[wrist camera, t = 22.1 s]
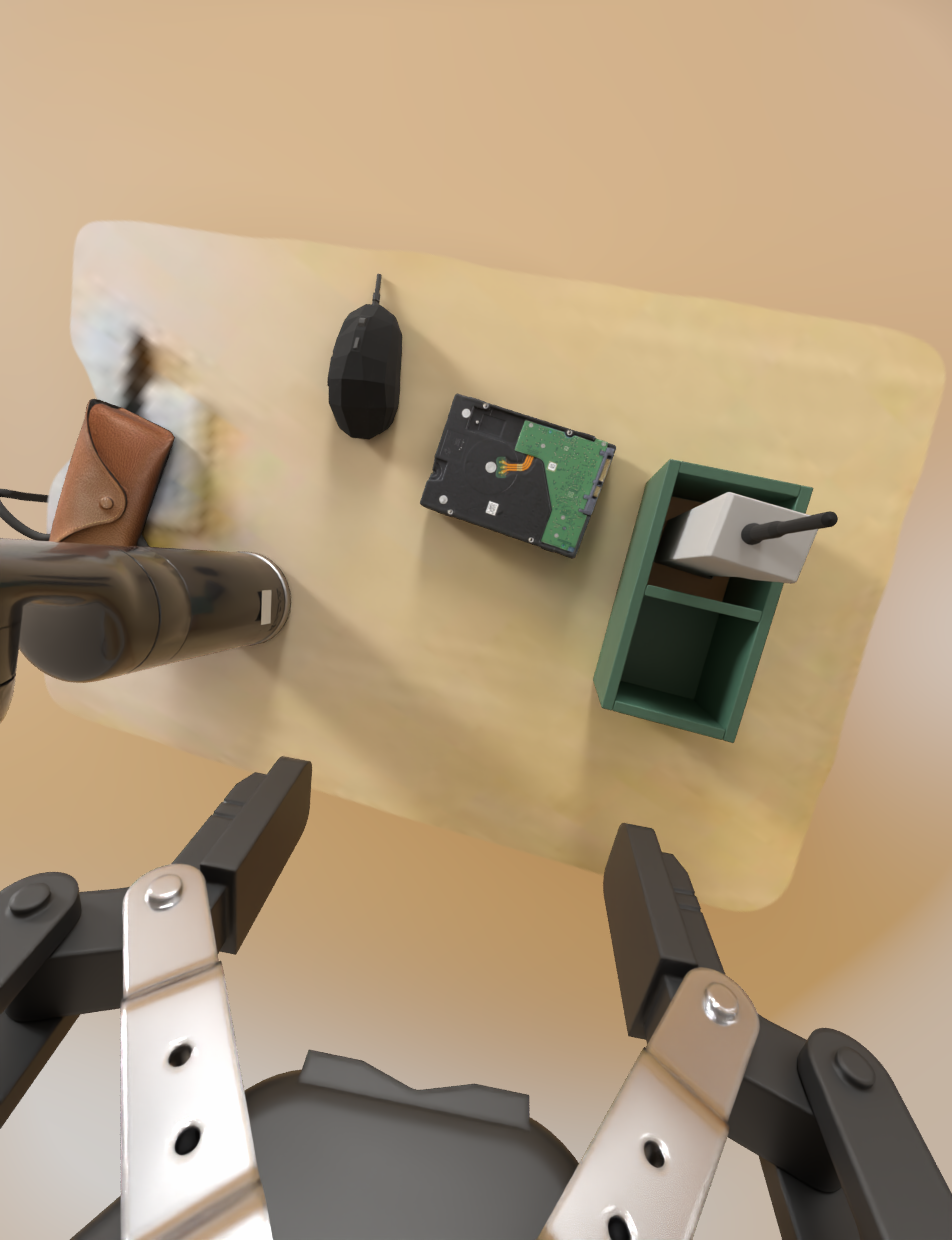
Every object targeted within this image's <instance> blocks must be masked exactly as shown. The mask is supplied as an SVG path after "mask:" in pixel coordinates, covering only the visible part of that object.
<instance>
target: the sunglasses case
mask: <svg viewBox="0 0 952 1240" xmlns="http://www.w3.org/2000/svg"><path fill="white" fill-rule="evenodd" d="M174 438H175V437H174V436H173V434H172V433H171V432H170V431H169V430H167V429H165V428H163V427H161V426H159V425H157V424H155V423H152V422H150V421H148V420H146V419H144V418H142V417H141V416H139V415H137V414H135V413H132V412H130V411H128V410H126V409H124V408H121V407H118V406H115V405H112V404H109V403H107V402H103V401H101V400H97V399H91V400H90V401H89V402H88V404H87V407H86V412H85V419H84V422H83V425H82V428H81V431H80V434H79V437H78V439H77V443H76V446H75V449H74V452H73V455H72V458H71V461H70V465H69V468H68V471H67V474H66V478H65V481H64V485H63V488H62V492H61V495H60V499H59V502H58V506H57V510H56V514H55V518H54V521H53V525H52V530H51V534H50V539H49V541H51V542H65V543H81V544H101V545H118V546H137V541H138V539H139V537H140V536H141V535H142V532H143V529H144V526H145V522H146V519H147V516H148V513H149V510H150V507H151V504H152V502H153V499H154V496H155V493H156V490H157V488H158V485H159V482H160V479H161V476H162V473H163V470H164V467H165V465H166V462H167V460H168V457H169V454H170V451H171V448H172V445H173V441H174Z"/></svg>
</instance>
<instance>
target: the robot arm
mask: <svg viewBox="0 0 952 1240" xmlns="http://www.w3.org/2000/svg"><path fill="white" fill-rule="evenodd" d="M0 497H5V498H11V499H18V500H24V501H34V502H45V503H48V497H49V495H42V494H33V493H25V492H19V491H13V490H8V489H0ZM0 517H1V518H2V519H3V520H4V521H5V522H6V523H7V524H9V525H10V526H11V527H12V528H14V529H15V530H16V531H18V532H20V533H21V534H23V535H25V536H27V537H29V538H31V539H33V540H21V539H7V538H0V723H1V722H2V721H3V719H4V718H5V716H6V714H7V711H8V709H9V706H10V703H11V700H12V696H13V692H14V686H15V676H16V668H17V658H18V650H20V651H21V652H22V654H23V655H24V656H25V657H26V658H27V659H28V660H29V661H30V662H31V663H32V664H33V665H34V666H35V667H37V668H38V669H39V670H40V671H42V672H44V673H45V674H47V675H49V676H51V677H54V678H56V679H59V680H62V681H67V682H76V683H87V682H94V681H100V680H104V679H108V678H112V677H116V676H121V675H125V674H129V673H133V672H137V671H142V670H146V669H150V668H153V667H158V666H162V665H166V664H170V663H174V662H179V661H183V660H187V659H191V658H195V657H200V656H204V655H208V654H212V653H216V652H221V651H225V650H229V649H234V648H238V647H242V646H248V645H255V644H259V643H262V642H265V641H267V640H269V639H271V638H272V637H274V636H275V635H276V634H277V633H278V632H279V631H280V630H281V629H282V627H283V626H284V624H285V623H286V620H287V618H288V615H289V611H290V605H291V596H290V590H289V586H288V583H287V581H286V578H285V576H284V575H283V573H282V572H281V570H280V569H279V568H278V567H277V565H276V564H275V563H273V562H272V561H271V560H269V559H268V558H266V557H264V556H262V555H260V554H257V553H252V552H224V551H207V550H190V549H173V548H156V547H149V546H148V544H147V542H146V541H145V539H144V537H143V536H142V535H141V536H140V537H139V539H138V541H137V546H118V545H101V544H81V543H65V542H51V541H49V539H50V534H43V533H39V532H37V531H34V530H32V529H30V528H28V527H27V526H25V525H24V524H22V523H21V522H20V521H19V520H17V519H16V518H15V517H14V516H13V515H12V514H11V513H10V512H9V511H8V510H7V509H6V508H5V506H4V505H3V504H2V502H1V501H0ZM311 777H312V764H311V762H310V761H305V760H300V759H294V758H289V757H284V756H282V757H280V758H279V759H278V760H277V762H276V763H275V764H274V766H273V767H272V768H271V770H270V771H269V772H268V774H267V775H266V774H261V773H256V772H255V773H253V774H252V775H250V776H249V777H247V778H245V779H244V780H242V781H241V782H239V783H237V784H236V785H235V787H234V788H233V789H232V790H231V791H230V793H229V794H228V795H227V796H226V798H225V799H224V802H222V803H221V804H220V805H219V806H218V807H217V809H216V810H215V811H214V814H213V815H211V816H210V817H209V818H208V820H207V821H206V822H205V823H204V825H203V826H202V827H201V828H200V830H199V831H198V832H197V833H196V835H195V836H194V837H193V838H192V839H191V841H190V842H189V843H188V844H187V845H186V847H185V848H184V849H183V850H182V852H181V853H180V854H179V855H178V857H177V858H176V859H175V860H174V861H173V863H172V864H170V865H165V866H162V867H159V868H156V869H154V870H151V871H149V872H148V873H146V874H144V875H143V876H141V877H140V878H139V879H138V880H136V881H135V882H134V883H133V884H132V885H131V887H127V888H120V889H110V890H100V891H99V890H98V891H87V892H79V887H78V883H77V881H76V880H75V879H74V878H73V877H72V876H70V875H68V874H65V873H61V872H46V873H40V874H36V875H32V876H29V877H26V878H24V879H21V880H19V881H17V882H15V883H13V884H11V885H9V886H8V887H6V888H4V889H3V890H2V891H0V1129H1V1127H2V1126H3V1124H4V1123H5V1122H6V1120H7V1119H8V1117H9V1116H10V1114H11V1113H12V1111H13V1110H14V1109H15V1107H16V1106H17V1104H18V1103H19V1102H20V1100H21V1099H22V1097H23V1096H24V1094H25V1093H26V1091H27V1090H28V1089H29V1087H30V1086H31V1084H32V1083H33V1081H34V1080H35V1079H36V1077H37V1076H38V1074H39V1073H40V1071H41V1070H42V1069H43V1067H44V1066H45V1064H46V1063H47V1061H48V1060H49V1058H50V1057H51V1055H52V1054H53V1053H54V1051H55V1050H56V1048H57V1047H58V1045H59V1044H60V1043H61V1041H62V1040H63V1038H64V1037H65V1036H66V1034H67V1033H68V1031H69V1030H70V1028H71V1027H72V1025H73V1024H74V1023H75V1021H76V1020H77V1018H78V1017H79V1015H80V1014H85V1013H92V1012H98V1011H104V1010H112V1009H119V1008H120V1034H121V1035H120V1037H121V1038H120V1041H121V1042H120V1044H121V1046H120V1049H121V1051H120V1059H121V1061H120V1070H121V1071H120V1072H121V1074H120V1077H121V1079H120V1081H121V1082H120V1086H121V1087H120V1088H121V1196H120V1197H118V1198H117V1199H116V1200H115V1201H114V1202H113V1203H112V1204H110V1205H109V1206H108V1207H107V1208H106V1209H105V1210H103V1211H102V1212H101V1213H100V1214H99V1215H98V1216H97V1217H95V1218H94V1219H93V1220H92V1221H91V1222H90V1223H88V1224H87V1225H86V1226H85V1227H84V1228H83V1229H81V1230H80V1231H79V1232H78V1233H77V1234H76V1235H75V1236H73V1237H72V1238H71V1239H70V1240H692V1239H693V1236H694V1233H695V1230H696V1227H697V1224H698V1221H699V1218H700V1215H701V1213H702V1209H703V1207H704V1204H705V1201H706V1198H707V1195H708V1192H709V1189H710V1186H711V1183H712V1180H713V1178H714V1174H715V1172H716V1169H717V1165H718V1163H719V1160H720V1157H721V1154H722V1151H723V1148H724V1145H725V1142H726V1139H727V1137H728V1138H730V1139H732V1140H733V1141H735V1142H737V1143H738V1144H740V1145H742V1146H744V1147H745V1148H747V1149H749V1150H750V1151H752V1152H754V1153H755V1154H757V1155H759V1159H760V1162H761V1166H762V1169H763V1173H764V1177H765V1180H766V1183H767V1187H768V1191H769V1194H770V1197H771V1201H772V1205H773V1208H774V1212H775V1216H776V1219H777V1223H778V1226H779V1229H780V1233H781V1237H782V1240H952V1193H951V1192H950V1190H949V1188H948V1186H947V1184H946V1182H945V1180H944V1178H943V1176H942V1174H941V1172H940V1170H939V1168H938V1167H937V1165H936V1163H935V1161H934V1159H933V1157H932V1155H931V1153H930V1151H929V1149H928V1147H927V1146H926V1144H925V1142H924V1140H923V1138H922V1136H921V1134H920V1132H919V1130H918V1128H917V1127H916V1124H915V1123H914V1121H913V1119H912V1117H911V1115H910V1113H909V1111H908V1109H907V1107H906V1105H905V1103H904V1102H903V1100H902V1098H901V1096H900V1094H899V1092H898V1090H897V1088H896V1086H895V1084H894V1082H893V1081H892V1079H891V1077H890V1076H889V1074H888V1073H887V1071H886V1070H885V1068H884V1067H883V1066H882V1064H881V1063H880V1062H879V1061H878V1060H877V1059H876V1057H874V1055H873V1054H872V1053H871V1052H869V1051H868V1050H867V1049H866V1048H865V1047H864V1046H862V1045H861V1044H860V1043H859V1042H857V1041H856V1040H854V1039H853V1038H851V1037H850V1036H848V1035H846V1034H844V1033H842V1032H840V1031H837V1030H834V1029H829V1028H819V1029H816V1030H815V1031H813V1032H812V1033H811V1035H810V1036H809V1038H808V1039H807V1040H806V1039H803V1038H802V1037H800V1036H798V1035H796V1034H794V1033H792V1032H790V1031H788V1030H786V1029H784V1028H782V1027H780V1026H778V1025H776V1024H774V1023H772V1022H770V1021H768V1020H767V1019H765V1018H763V1017H762V1016H761V1015H759V1014H758V1013H757V1011H756V1009H755V1007H754V1005H753V1003H752V1001H751V1000H750V998H749V997H748V995H747V994H746V993H745V992H744V990H743V989H742V988H741V987H740V986H739V985H738V984H737V983H735V982H734V981H733V980H732V979H730V978H729V977H727V976H726V975H725V972H724V970H723V967H722V965H721V962H720V959H719V956H718V954H717V951H716V949H715V946H714V943H713V940H712V938H711V935H710V932H709V929H708V927H707V924H706V921H705V919H704V916H703V913H701V912H700V909H701V908H700V905H699V903H698V900H697V897H696V896H695V895H694V893H695V892H694V889H693V886H692V884H691V881H690V878H689V876H688V873H687V872H686V870H685V869H684V868H683V867H682V865H681V864H680V863H679V862H678V860H677V859H676V858H675V856H674V855H673V854H669V853H663V852H661V849H660V846H659V843H658V840H657V837H656V834H655V831H654V830H653V829H652V828H647V827H642V826H637V825H632V824H627V823H622V824H621V825H620V827H619V829H618V832H617V835H616V838H615V841H614V844H613V847H612V850H611V853H610V856H609V859H608V862H607V865H606V868H605V873H604V882H603V889H604V890H603V891H604V899H605V905H606V910H607V915H608V921H609V927H610V933H611V939H612V945H613V951H614V956H615V962H616V968H617V974H618V979H619V985H620V991H621V997H622V1002H623V1008H624V1014H625V1019H626V1025H627V1031H628V1036H631V1037H635V1038H640V1039H645V1040H646V1041H647V1046H646V1048H645V1047H644V1048H643V1050H642V1051H641V1053H640V1055H639V1057H638V1058H637V1060H636V1062H635V1063H634V1065H633V1067H632V1069H631V1071H630V1073H629V1074H628V1076H627V1078H626V1080H625V1082H624V1083H623V1085H622V1087H621V1089H620V1091H619V1093H618V1094H617V1096H616V1098H615V1100H614V1101H613V1103H612V1105H611V1107H610V1109H609V1110H608V1112H607V1114H606V1116H605V1118H604V1120H603V1121H602V1123H601V1125H600V1127H599V1129H598V1130H597V1132H596V1134H595V1136H594V1138H593V1139H592V1141H591V1143H590V1145H589V1147H588V1148H587V1150H586V1152H585V1154H584V1156H583V1157H582V1159H581V1161H580V1163H578V1162H577V1160H576V1159H575V1157H574V1156H573V1155H572V1154H571V1152H570V1151H569V1150H568V1149H567V1148H566V1146H565V1145H564V1144H563V1143H562V1142H561V1141H560V1140H559V1139H558V1138H557V1137H556V1136H555V1135H553V1134H552V1133H551V1132H550V1131H549V1130H548V1129H546V1128H545V1127H544V1126H542V1125H541V1124H540V1123H538V1122H537V1121H535V1120H533V1119H532V1118H530V1117H529V1095H526V1094H522V1093H517V1092H512V1091H507V1090H502V1089H497V1088H493V1087H487V1086H483V1085H478V1084H468V1085H461V1086H451V1087H443V1088H433V1089H425V1090H416V1089H412V1088H410V1087H408V1086H407V1085H405V1084H403V1083H401V1082H399V1081H397V1080H396V1079H394V1078H392V1077H391V1076H389V1075H387V1074H385V1073H383V1072H382V1071H380V1070H378V1069H376V1068H374V1067H373V1066H371V1065H369V1064H367V1063H366V1062H364V1061H362V1060H357V1059H352V1058H347V1057H342V1056H337V1055H332V1054H328V1053H323V1052H318V1051H313V1050H309V1051H308V1054H307V1056H306V1060H305V1062H304V1065H303V1068H302V1070H295V1071H290V1072H286V1073H282V1074H278V1075H275V1076H273V1077H270V1078H268V1079H265V1080H263V1081H261V1082H259V1083H257V1084H255V1085H254V1086H252V1087H250V1088H248V1089H247V1090H245V1091H244V1086H243V1080H242V1075H241V1069H240V1063H239V1057H238V1051H237V1045H236V1040H235V1034H234V1029H233V1022H232V1017H231V1010H230V1005H229V999H228V993H227V987H226V981H225V975H224V970H223V966H222V963H221V961H219V960H218V953H219V951H220V952H226V953H230V954H237V952H238V950H239V948H240V946H241V945H242V943H243V941H244V939H245V937H246V936H247V934H248V932H249V930H250V928H251V926H252V925H253V923H254V921H255V919H256V917H257V915H258V914H259V912H260V910H261V908H262V906H263V905H264V903H265V901H266V899H267V897H268V895H269V894H270V892H271V890H272V888H273V886H274V885H275V883H276V881H277V879H278V877H279V875H280V874H281V872H282V870H283V868H284V866H285V865H286V863H287V861H288V859H289V857H290V855H291V854H292V852H293V850H294V848H295V846H296V845H297V843H298V841H299V839H300V837H301V835H302V833H303V831H304V828H305V826H306V822H307V819H308V815H309V809H310V792H311Z"/></svg>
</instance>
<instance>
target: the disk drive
mask: <svg viewBox="0 0 952 1240" xmlns="http://www.w3.org/2000/svg"><path fill="white" fill-rule="evenodd" d="M615 450H616V446H615V445H613V444H609V443H607V442H605V441H602V440H598V439H596V438H595V437H594V436H592V435H589V434H585V433H582V432H577V431H574V430H571V429H568V428H565V427H562V426H558V425H556V424H552V423H549V422H547V421H543V420H540V419H537V418H534V417H530V416H527V415H523V414H521V413H518V412H514V411H512V410H508V409H505V408H502V407H499V406H496V405H492V404H489V403H486V402H484V401H481V400H479V399H476V398H472V397H467V396H463V395H460V394H456V395H455V397H454V399H453V402H452V406H451V409H450V412H449V415H448V419H447V422H446V425H445V428H444V431H443V434H442V437H441V440H440V442H439V446H438V449H437V452H436V454H435V460H434V465H433V474H431V475H430V477H429V480H428V481H427V482H426V486H425V489H424V492H423V495H422V498H421V501H420V504H421V505H422V506H423V507H426V508H428V509H431V510H434V511H436V512H438V513H441V514H444V515H446V516H450V517H455V518H457V519H461V520H463V521H466V522H469V523H472V524H475V525H478V526H481V527H484V528H487V529H490V530H493V531H495V532H498V533H501V534H504V535H506V536H510V537H513V538H516V539H518V540H521V541H524V542H527V543H530V544H532V545H536V546H538V547H541V548H542V549H544V550H548V551H551V552H555V553H558V554H561V555H564V556H566V557H569V558H575V556H576V554H577V551H578V549H579V546H580V543H581V541H582V538H583V535H584V533H585V530H586V527H587V525H588V522H589V520H590V517H591V515H592V512H593V510H594V507H595V504H596V502H597V499H598V496H599V493H600V491H601V488H602V485H603V483H604V480H605V477H606V474H607V472H608V469H609V466H610V464H611V461H612V458H613V456H614V453H615Z"/></svg>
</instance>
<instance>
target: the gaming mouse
mask: <svg viewBox="0 0 952 1240" xmlns="http://www.w3.org/2000/svg"><path fill="white" fill-rule="evenodd" d="M380 283H381V274H377V281H376V289H375V293H373V303H372V305H370V304H366V305H364V306H362V307H360V308H358V309H357V310H355V311H353V312H351V313H350V314H349V315H348V316H347V318H346V319H345V321H344V322H343V325H342V327H341V330H340V332H339V335H338V337H337V340H336V343H335V346H334V350H333V356H332V357H331V362H330V368H329V374H328V386H329V404H330V407H331V409H332V412H333V414H334V417H335V419H336V421H337V424H338V426H339V428H340V429H341V430H343V431H344V432H345V433H346V434H348V435H349V436H350V437H352V438H362V439H371V438H372V437H374V436H376V435H378V434H380V433H382V432H384V431H385V430H387V429H388V428H389V427H390V426H391V424H392V423H393V420H394V417H395V414H396V411H397V409H398V404H399V393H400V370H401V356H402V334H401V331H400V328H399V325H398V322H397V319H396V318H395V316H394V315H392V314H391V313H390V312H389V311H387V310H386V309H385V308H384V307H382V306H381V305H379V304H378V303H379V300H380V294H379V290H380Z"/></svg>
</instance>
